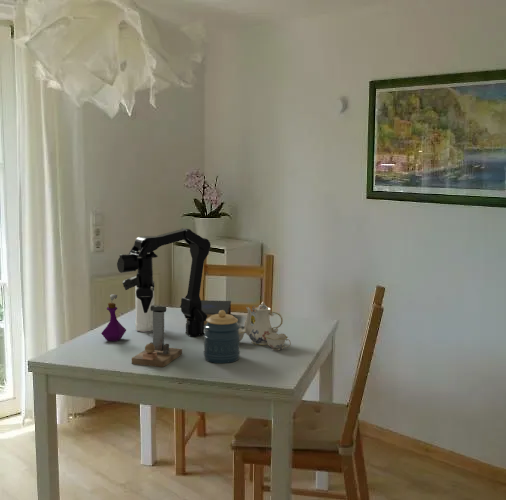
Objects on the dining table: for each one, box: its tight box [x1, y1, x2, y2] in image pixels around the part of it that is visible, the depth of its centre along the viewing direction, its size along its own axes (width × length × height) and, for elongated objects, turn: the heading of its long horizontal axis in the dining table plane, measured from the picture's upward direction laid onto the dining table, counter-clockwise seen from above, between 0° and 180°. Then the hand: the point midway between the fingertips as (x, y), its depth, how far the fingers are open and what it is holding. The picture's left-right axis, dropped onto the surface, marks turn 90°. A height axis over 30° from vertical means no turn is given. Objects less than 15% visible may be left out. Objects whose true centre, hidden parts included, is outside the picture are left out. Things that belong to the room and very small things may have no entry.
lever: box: [151, 305, 167, 351], centre depth 235 cm, size 2×5×16 cm, turn 73°
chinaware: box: [239, 301, 292, 351], centre depth 255 cm, size 28×17×17 cm, turn 70°
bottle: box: [134, 286, 155, 333], centre depth 273 cm, size 8×8×30 cm
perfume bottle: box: [100, 293, 127, 342], centre depth 258 cm, size 8×8×18 cm
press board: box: [131, 341, 183, 368], centre depth 235 cm, size 16×12×7 cm
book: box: [201, 299, 232, 325], centre depth 292 cm, size 17×25×7 cm
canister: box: [203, 310, 241, 364], centre depth 236 cm, size 13×13×18 cm
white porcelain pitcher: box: [240, 305, 256, 330], centre depth 276 cm, size 8×8×10 cm
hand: (146, 309), depth 253 cm, fingers open, 9 cm apart
